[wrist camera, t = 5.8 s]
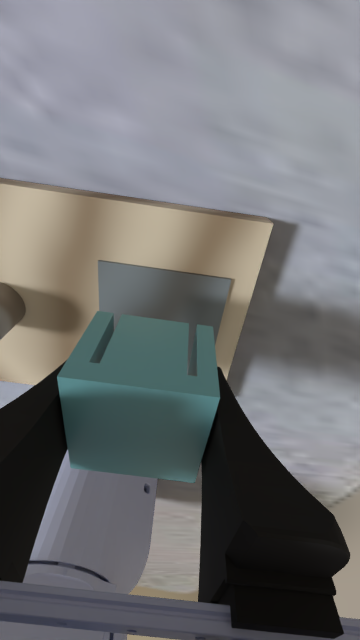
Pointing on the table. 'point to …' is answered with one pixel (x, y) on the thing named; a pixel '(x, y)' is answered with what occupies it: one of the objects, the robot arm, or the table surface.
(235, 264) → the post board
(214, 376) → the teal slotted block
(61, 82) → the table surface
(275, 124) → the table surface
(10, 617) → the robot arm
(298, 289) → the table surface
